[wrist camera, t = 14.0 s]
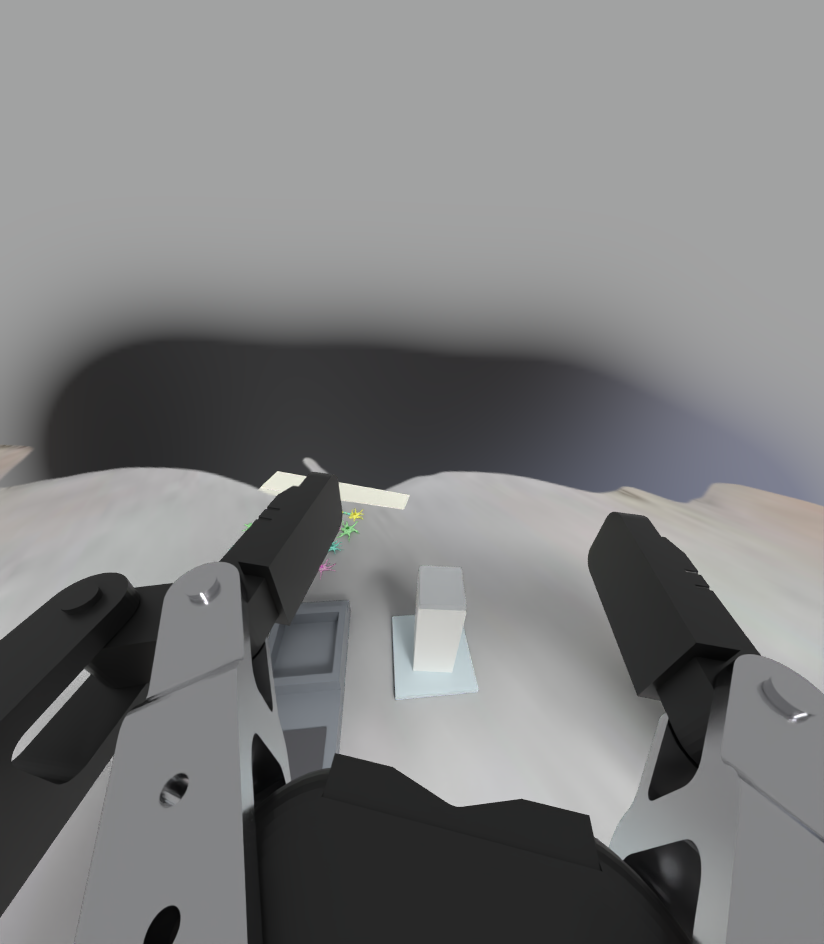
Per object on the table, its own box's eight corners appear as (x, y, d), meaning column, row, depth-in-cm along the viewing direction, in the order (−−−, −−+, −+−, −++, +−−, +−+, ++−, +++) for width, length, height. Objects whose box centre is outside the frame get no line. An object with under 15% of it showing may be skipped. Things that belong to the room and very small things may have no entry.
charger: (449, 633, 38) (462, 566, 30) (452, 672, 34) (467, 606, 27) (413, 631, 38) (418, 564, 31) (413, 670, 34) (418, 604, 27)
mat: (459, 614, 40) (460, 611, 40) (477, 692, 33) (478, 689, 33) (392, 618, 40) (392, 616, 39) (395, 700, 32) (395, 697, 32)
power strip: (350, 610, 40) (347, 590, 38) (306, 1156, 16) (290, 1202, 13) (288, 615, 40) (281, 594, 37) (139, 1195, 15) (87, 1252, 12)
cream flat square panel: (409, 496, 61) (409, 490, 61) (351, 645, 37) (350, 640, 37) (277, 472, 67) (276, 467, 66) (152, 590, 43) (147, 584, 42)
